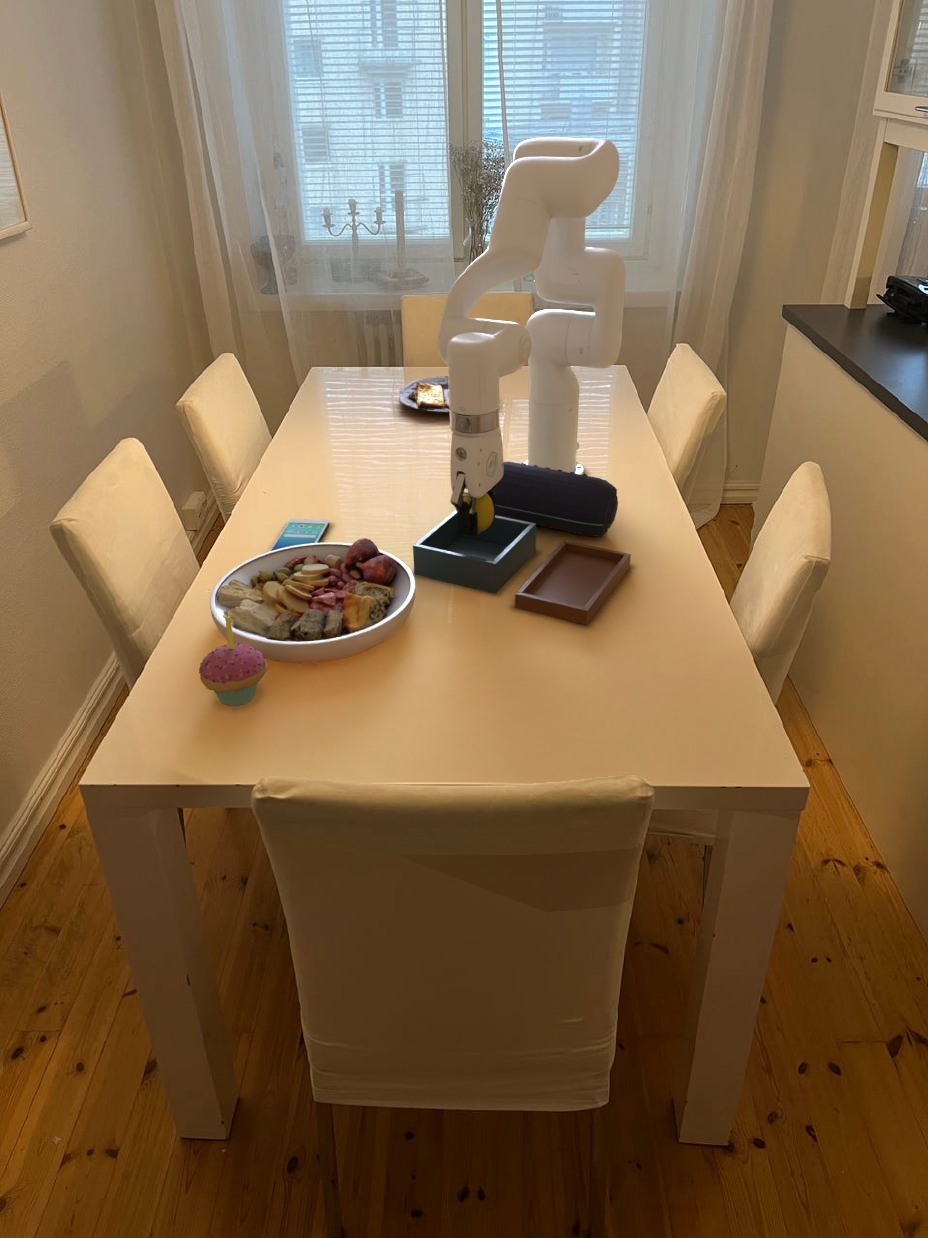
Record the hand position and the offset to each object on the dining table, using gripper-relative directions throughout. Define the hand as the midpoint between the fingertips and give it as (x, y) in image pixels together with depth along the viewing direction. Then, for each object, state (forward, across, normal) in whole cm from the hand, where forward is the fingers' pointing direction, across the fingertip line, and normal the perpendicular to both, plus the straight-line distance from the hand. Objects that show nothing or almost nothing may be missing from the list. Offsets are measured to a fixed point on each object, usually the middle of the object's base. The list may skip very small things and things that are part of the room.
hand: (477, 524), depth 150 cm
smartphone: (+7, -7, +31) cm, 32 cm away
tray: (+7, -1, -18) cm, 19 cm away
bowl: (+6, -26, +14) cm, 30 cm away
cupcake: (+6, -47, +12) cm, 49 cm away
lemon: (+2, 0, 0) cm, 2 cm away
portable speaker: (+7, +18, -5) cm, 20 cm away
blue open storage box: (+7, -1, 0) cm, 7 cm away
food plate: (+9, +69, +42) cm, 81 cm away
